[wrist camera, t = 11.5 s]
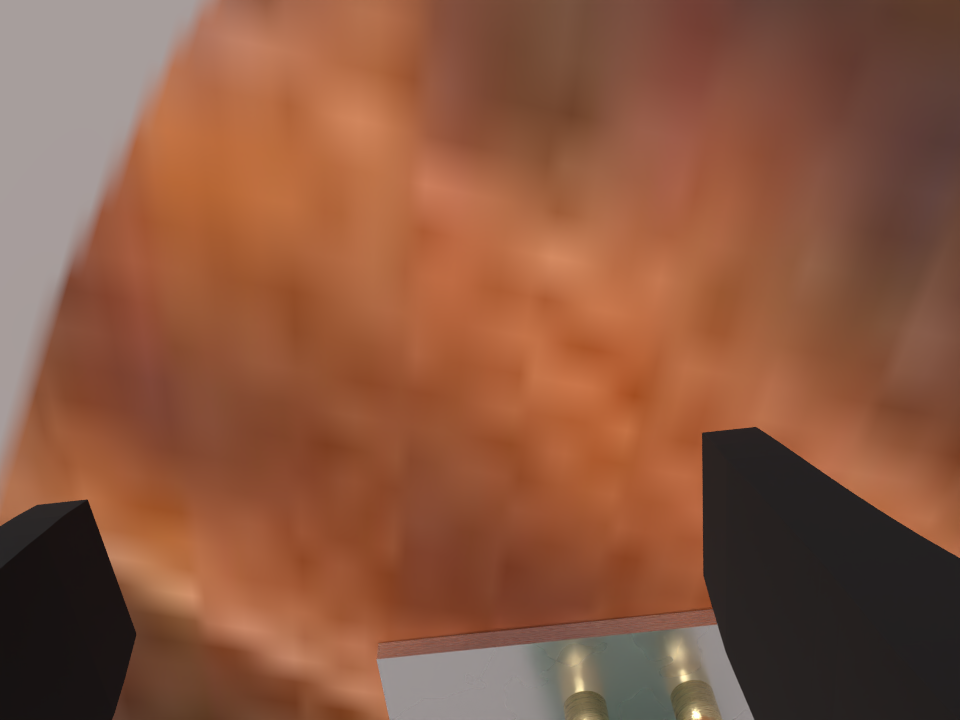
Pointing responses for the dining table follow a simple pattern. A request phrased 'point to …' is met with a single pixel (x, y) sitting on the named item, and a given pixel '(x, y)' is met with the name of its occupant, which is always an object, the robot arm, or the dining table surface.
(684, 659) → the plate
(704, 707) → the standoff posts
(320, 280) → the dining table surface
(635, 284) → the dining table surface
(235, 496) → the dining table surface
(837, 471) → the dining table surface
